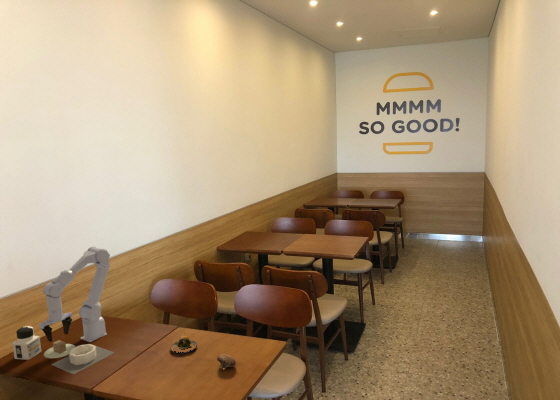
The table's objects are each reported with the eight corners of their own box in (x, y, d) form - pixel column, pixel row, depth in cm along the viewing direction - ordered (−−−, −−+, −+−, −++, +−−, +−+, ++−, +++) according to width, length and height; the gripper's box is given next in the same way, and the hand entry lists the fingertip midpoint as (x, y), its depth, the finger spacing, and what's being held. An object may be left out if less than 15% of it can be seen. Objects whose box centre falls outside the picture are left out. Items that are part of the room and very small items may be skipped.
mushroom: (217, 368, 173) (222, 352, 175) (211, 366, 180) (216, 351, 182) (235, 374, 175) (240, 358, 177) (228, 372, 182) (233, 357, 184)
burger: (165, 353, 193) (163, 338, 191) (180, 341, 203) (179, 326, 202) (187, 358, 188) (186, 342, 187) (202, 345, 199) (201, 330, 198)
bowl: (86, 350, 196) (85, 342, 195) (100, 356, 191) (99, 347, 190) (66, 360, 188) (65, 352, 187) (80, 366, 182) (79, 358, 182)
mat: (92, 345, 202) (92, 344, 202) (114, 353, 193) (114, 352, 193) (51, 365, 185) (51, 364, 185) (73, 375, 177) (73, 374, 177)
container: (29, 360, 190) (25, 332, 188) (14, 359, 191) (10, 331, 189) (41, 351, 197) (38, 324, 195) (27, 350, 199) (23, 323, 197)
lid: (65, 343, 206) (64, 333, 205) (81, 349, 199) (80, 339, 198) (38, 355, 195) (36, 345, 194) (54, 362, 188) (53, 352, 187)
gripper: (64, 301, 202) (67, 329, 204) (33, 313, 189) (37, 342, 191) (74, 304, 198) (76, 332, 200) (43, 316, 186) (46, 345, 188)
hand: (58, 337), depth 196 cm, fingers open, 7 cm apart
